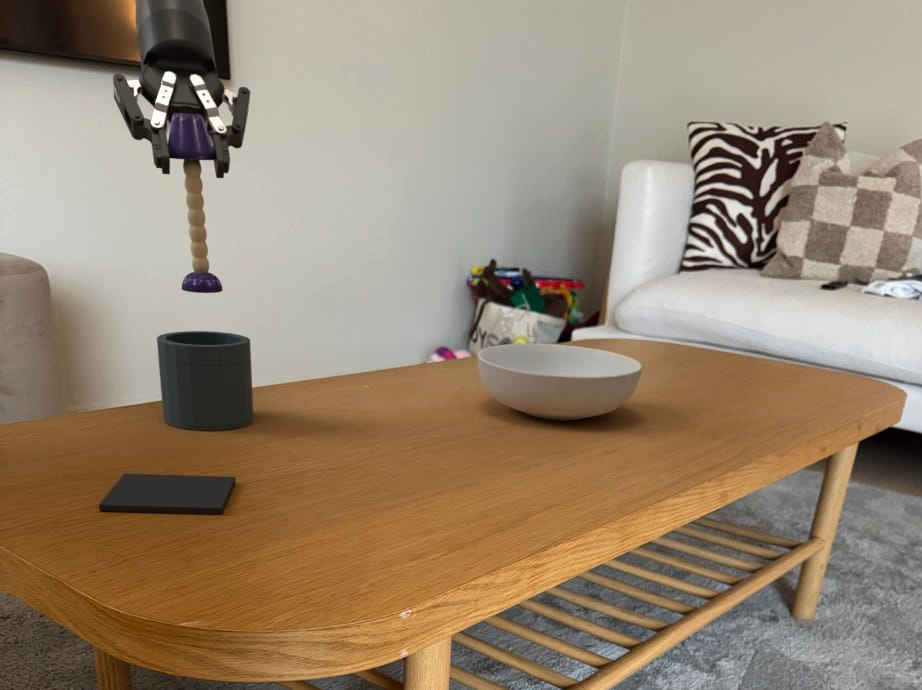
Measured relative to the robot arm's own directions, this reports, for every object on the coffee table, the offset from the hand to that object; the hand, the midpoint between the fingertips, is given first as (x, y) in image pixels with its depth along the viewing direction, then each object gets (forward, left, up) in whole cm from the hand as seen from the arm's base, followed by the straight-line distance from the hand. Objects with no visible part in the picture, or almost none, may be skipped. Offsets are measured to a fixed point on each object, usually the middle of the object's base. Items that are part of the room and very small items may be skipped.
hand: (193, 169), depth 96 cm
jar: (0, +2, -26) cm, 26 cm away
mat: (+1, -26, -26) cm, 36 cm away
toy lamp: (-1, +2, -12) cm, 12 cm away
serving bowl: (+42, +13, -26) cm, 51 cm away
